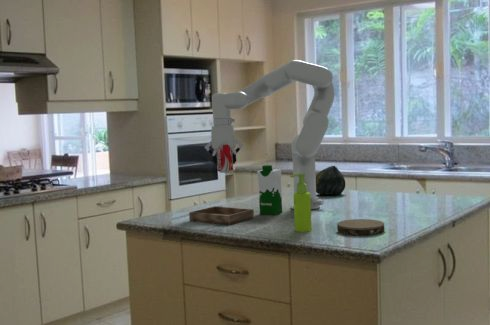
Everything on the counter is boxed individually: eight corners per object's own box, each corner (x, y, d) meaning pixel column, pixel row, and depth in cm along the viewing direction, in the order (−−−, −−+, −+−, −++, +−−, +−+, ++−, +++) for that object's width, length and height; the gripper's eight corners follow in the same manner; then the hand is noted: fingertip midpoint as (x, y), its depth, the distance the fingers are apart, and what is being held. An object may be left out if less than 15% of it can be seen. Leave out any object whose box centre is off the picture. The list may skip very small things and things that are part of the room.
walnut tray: (253, 218, 247) (253, 209, 247) (228, 225, 234) (228, 216, 234) (215, 214, 259) (215, 206, 259) (189, 220, 247) (189, 212, 246)
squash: (308, 182, 308) (315, 161, 298) (336, 181, 312) (344, 160, 301) (315, 204, 299) (323, 183, 288) (344, 203, 302) (353, 182, 292)
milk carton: (256, 214, 255) (254, 166, 253) (266, 210, 262) (264, 163, 261) (276, 215, 250) (274, 166, 249) (285, 211, 258) (283, 164, 257)
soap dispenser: (290, 229, 222) (288, 173, 220) (309, 228, 222) (307, 172, 221) (293, 232, 216) (291, 175, 214) (312, 231, 217) (311, 174, 215)
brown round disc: (383, 227, 221) (382, 218, 220) (385, 236, 205) (385, 227, 205) (337, 227, 223) (337, 219, 223) (337, 237, 208) (336, 228, 207)
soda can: (231, 172, 259) (229, 143, 258) (215, 173, 260) (213, 144, 259) (235, 170, 266) (233, 142, 265) (219, 171, 267) (217, 143, 266)
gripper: (241, 121, 266) (244, 162, 268) (201, 123, 264) (203, 165, 265) (243, 121, 259) (246, 163, 260) (202, 123, 256) (205, 166, 258)
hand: (224, 164), depth 263 cm, fingers closed on soda can, 7 cm apart
